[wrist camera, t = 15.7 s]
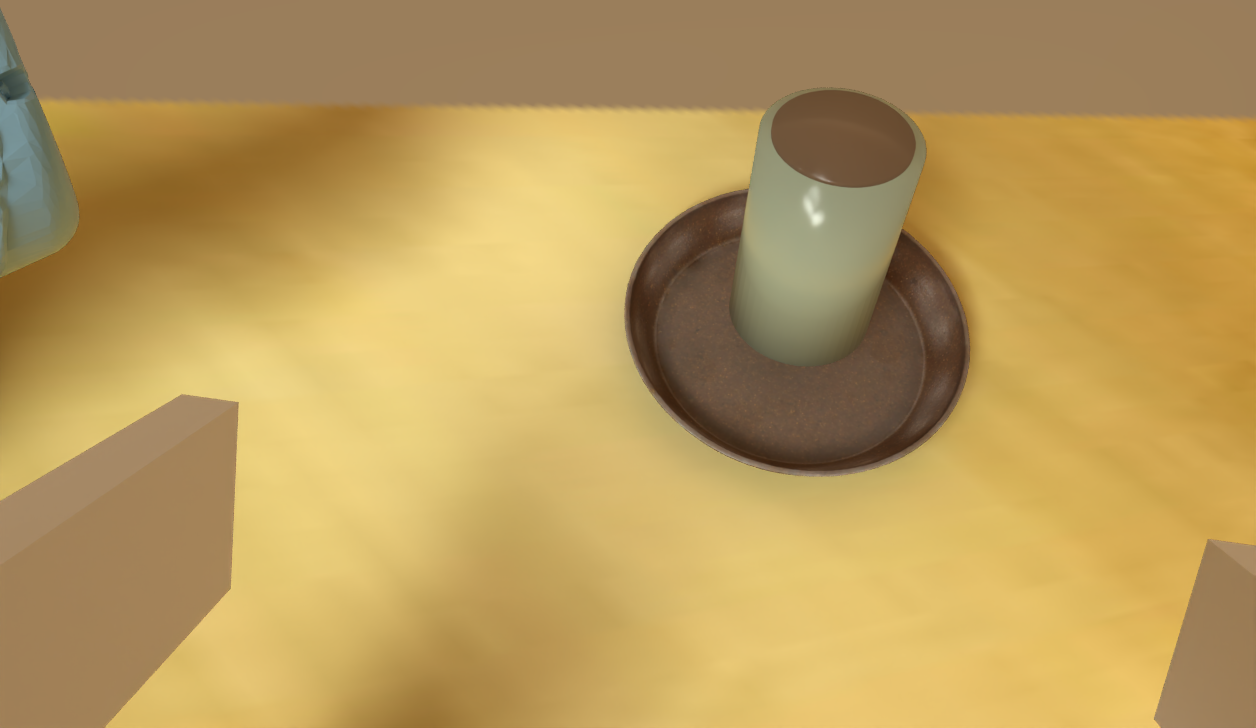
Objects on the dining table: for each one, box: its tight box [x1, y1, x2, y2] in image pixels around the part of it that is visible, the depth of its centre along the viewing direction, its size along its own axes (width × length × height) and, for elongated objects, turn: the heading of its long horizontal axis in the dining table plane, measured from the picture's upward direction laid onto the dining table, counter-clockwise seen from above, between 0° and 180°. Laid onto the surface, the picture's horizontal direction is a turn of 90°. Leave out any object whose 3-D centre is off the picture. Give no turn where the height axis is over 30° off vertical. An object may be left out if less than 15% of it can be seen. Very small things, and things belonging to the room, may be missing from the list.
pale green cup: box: [729, 88, 926, 366], centre depth 47 cm, size 7×7×11 cm
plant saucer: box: [624, 189, 970, 476], centre depth 53 cm, size 18×18×3 cm
